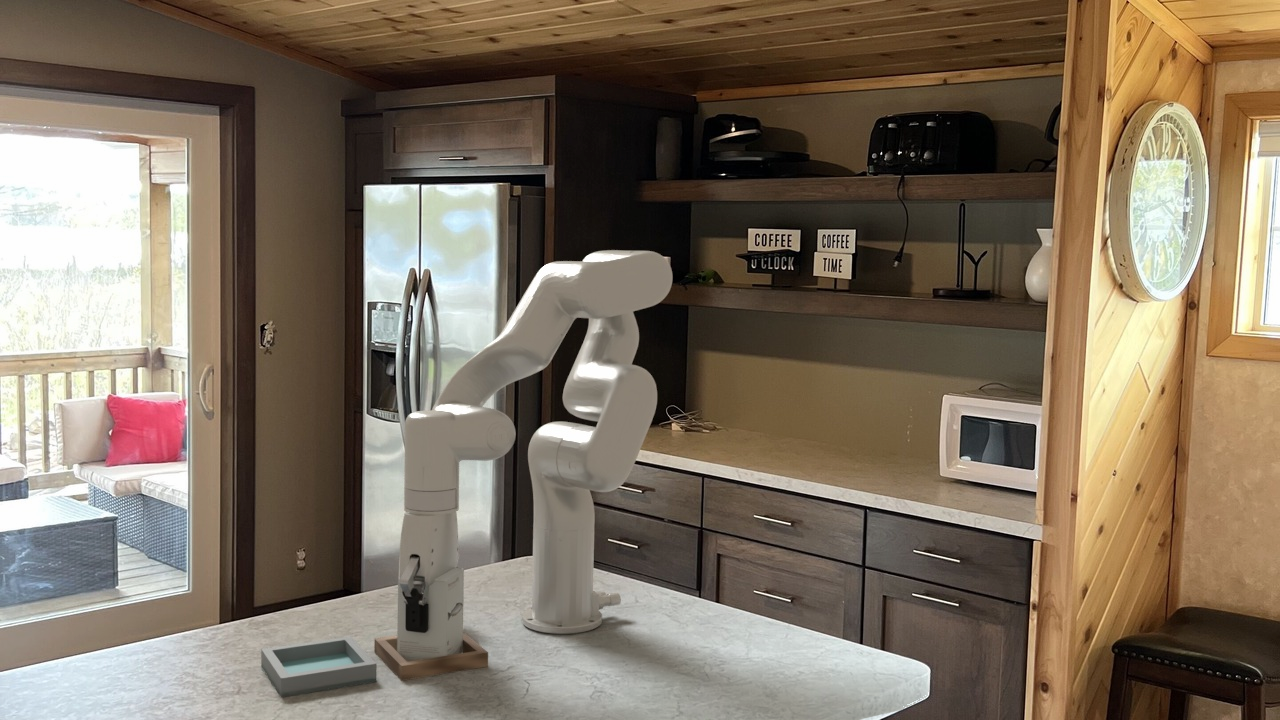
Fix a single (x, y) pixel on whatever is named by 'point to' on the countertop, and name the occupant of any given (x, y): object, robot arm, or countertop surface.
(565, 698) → the countertop surface
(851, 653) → the countertop surface
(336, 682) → the dock
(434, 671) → the wooden picture frame
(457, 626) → the supplement box
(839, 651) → the countertop surface
